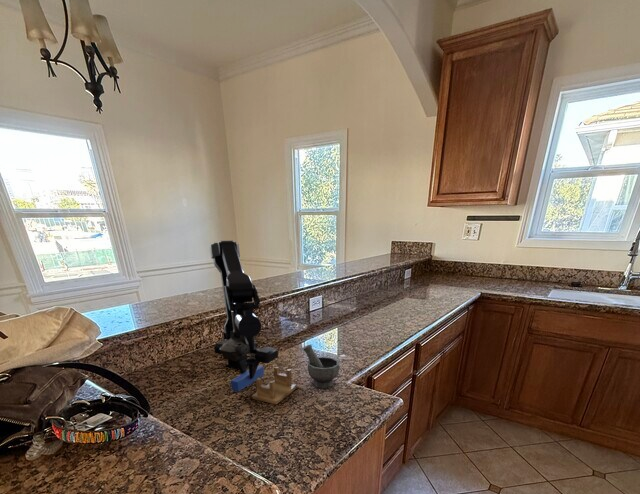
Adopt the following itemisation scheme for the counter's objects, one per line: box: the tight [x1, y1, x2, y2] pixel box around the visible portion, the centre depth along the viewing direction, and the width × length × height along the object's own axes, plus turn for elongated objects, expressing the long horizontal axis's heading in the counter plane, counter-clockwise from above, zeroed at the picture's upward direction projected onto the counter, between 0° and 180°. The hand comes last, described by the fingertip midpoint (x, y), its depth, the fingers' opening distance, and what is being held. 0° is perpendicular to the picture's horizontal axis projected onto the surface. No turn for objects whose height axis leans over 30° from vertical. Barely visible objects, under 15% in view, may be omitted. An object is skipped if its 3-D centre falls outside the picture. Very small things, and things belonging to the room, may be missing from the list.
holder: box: [251, 366, 298, 405], centre depth 100 cm, size 12×8×6 cm
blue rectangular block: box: [230, 364, 265, 392], centre depth 105 cm, size 13×2×3 cm, turn 155°
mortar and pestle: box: [302, 344, 340, 389], centre depth 106 cm, size 11×9×12 cm
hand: (248, 377), depth 105 cm, fingers closed on blue rectangular block, 2 cm apart
